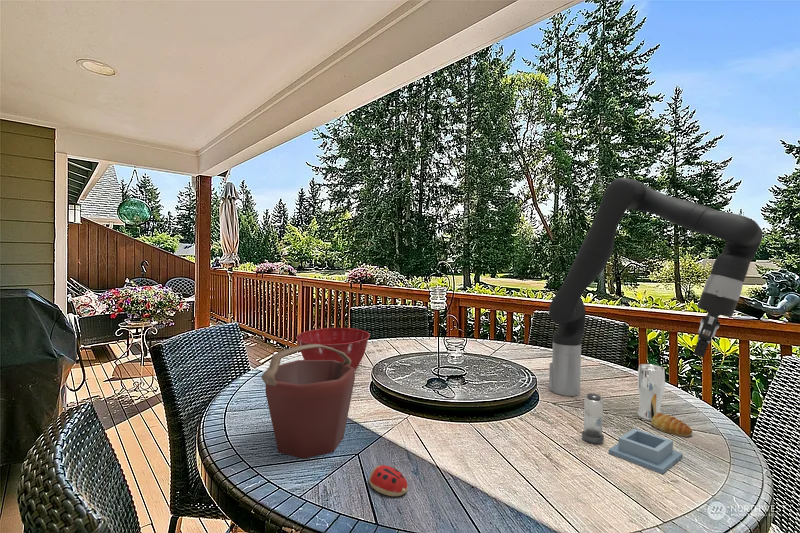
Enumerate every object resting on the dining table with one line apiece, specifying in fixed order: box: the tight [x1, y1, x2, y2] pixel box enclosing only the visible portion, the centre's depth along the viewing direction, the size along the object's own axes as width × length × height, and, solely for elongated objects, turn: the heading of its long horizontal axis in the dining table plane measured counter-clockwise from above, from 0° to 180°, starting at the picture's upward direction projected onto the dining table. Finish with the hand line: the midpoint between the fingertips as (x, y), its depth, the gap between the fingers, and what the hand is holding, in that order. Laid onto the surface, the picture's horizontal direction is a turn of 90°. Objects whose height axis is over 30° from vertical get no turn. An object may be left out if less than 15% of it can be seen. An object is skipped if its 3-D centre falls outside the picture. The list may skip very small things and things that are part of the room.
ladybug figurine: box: [368, 464, 409, 497], centre depth 89 cm, size 7×10×4 cm
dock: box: [607, 428, 684, 475], centre depth 103 cm, size 12×12×4 cm
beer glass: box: [637, 363, 666, 422], centre depth 126 cm, size 7×7×15 cm
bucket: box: [261, 344, 356, 460], centre depth 109 cm, size 24×22×25 cm
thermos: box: [581, 392, 605, 446], centre depth 111 cm, size 5×5×12 cm
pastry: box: [650, 412, 693, 438], centre depth 117 cm, size 9×7×4 cm
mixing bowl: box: [295, 327, 371, 370], centre depth 167 cm, size 28×28×16 cm
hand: (698, 354), depth 109 cm, fingers open, 8 cm apart
